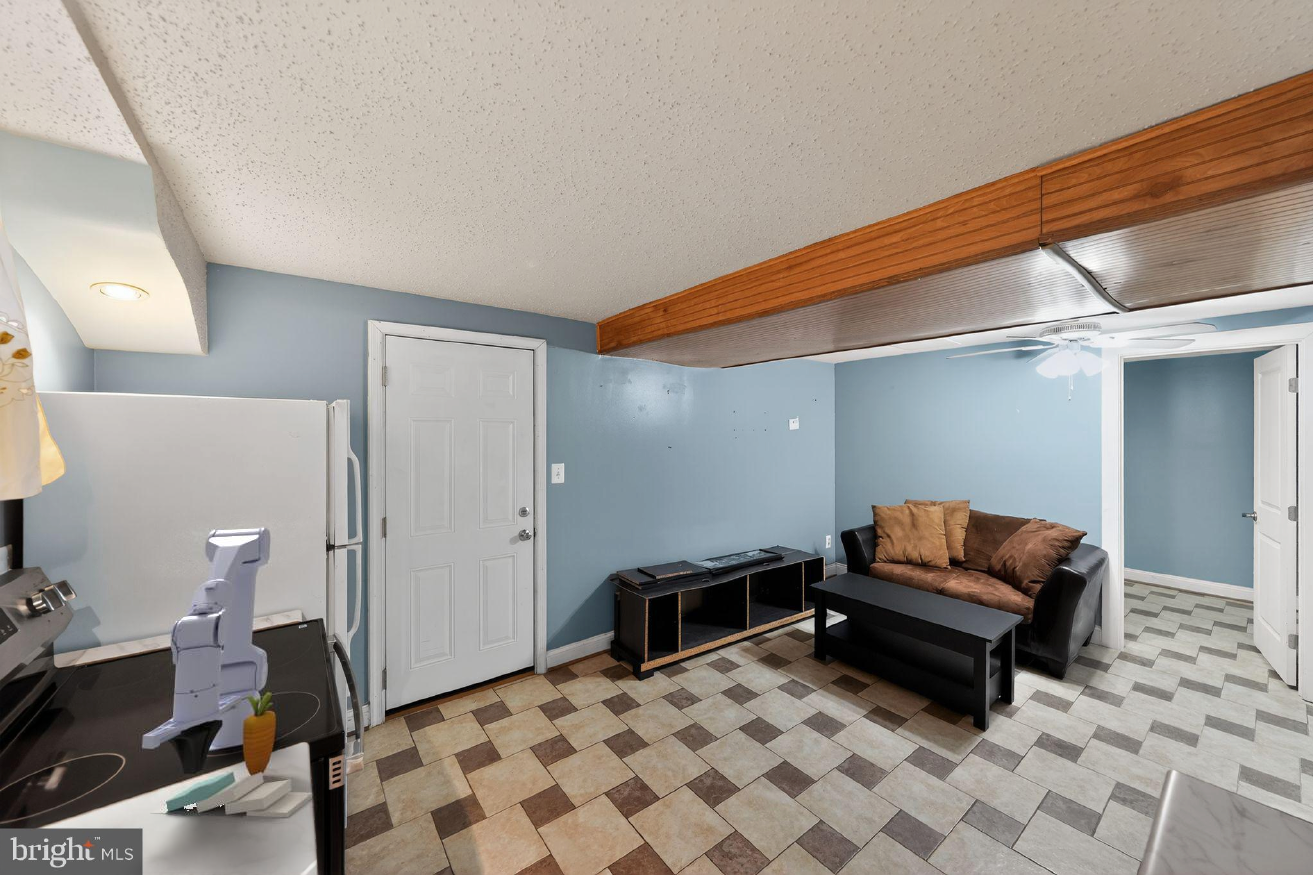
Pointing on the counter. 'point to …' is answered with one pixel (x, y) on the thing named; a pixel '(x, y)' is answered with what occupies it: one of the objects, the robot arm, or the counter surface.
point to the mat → (206, 812)
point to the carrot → (258, 735)
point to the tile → (200, 791)
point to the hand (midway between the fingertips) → (193, 771)
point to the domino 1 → (231, 792)
